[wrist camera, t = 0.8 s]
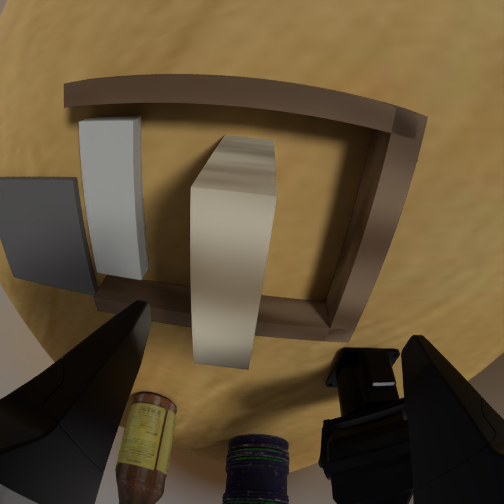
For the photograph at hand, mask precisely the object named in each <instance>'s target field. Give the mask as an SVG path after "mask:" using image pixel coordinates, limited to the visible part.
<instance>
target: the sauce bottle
mask: <svg viewBox="0 0 504 504" xmlns="http://www.w3.org/2000/svg"><path fill="white" fill-rule="evenodd" d="M176 412H177V408H176V406H175V405H174V404H173V403H172V402H171V401H170V400H168V399H167V398H165V397H163V396H160V395H157V394H153V393H140V394H137V395H136V396H135V398H134V401H133V404H132V405H131V407H130V411H129V415H128V418H127V422H126V426H125V430H124V434H123V438H122V442H121V447H120V451H119V455H118V460H117V464H116V480H117V485H118V495H119V504H155V503H156V502H157V501H158V500H159V499H160V498H161V497H162V495H163V492H164V485H165V478H166V477H167V472H168V465H169V459H170V452H171V447H172V441H173V435H174V429H175V423H176Z"/></svg>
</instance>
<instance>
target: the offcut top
mask: <svg viewBox="0 0 504 504" xmlns="http://www.w3.org/2000/svg"><path fill="white" fill-rule="evenodd" d="M140 126H141V117H103V118H87V119H84V120H82V121H79V138H80V155H81V168H82V179H83V189H84V197H85V205H86V213H87V220H88V226H89V232H90V238H91V244H92V250H93V255H94V260H95V265H96V270H97V273H102V274H108V275H114V276H119V277H125V278H131V279H137V280H142V279H143V277H144V275H145V273H146V261H145V250H144V237H143V223H142V204H141V173H140Z"/></svg>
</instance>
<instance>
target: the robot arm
mask: <svg viewBox="0 0 504 504" xmlns="http://www.w3.org/2000/svg"><path fill="white" fill-rule="evenodd" d="M150 326H151V312H150V304H149V302H148V301H144V300H139V299H137V300H135V301H134V302H132V303H131V304H130V305H128V306H127V307H126V308H124V309H123V310H122V311H120V312H119V313H118V314H117V315H115V316H114V317H113V318H111V319H110V320H109V321H107V322H106V323H105V324H104V325H102V326H101V327H100V328H98V329H97V330H96V331H94V332H93V333H92V334H91V335H89V336H88V337H87V338H85V339H84V340H83V341H82V342H80V343H79V344H78V345H77V346H75V347H74V348H73V349H71V350H70V351H69V352H68V353H66V354H65V355H64V356H63V357H62V358H63V359H62V358H60V359H59V360H57V361H56V362H55V363H54V364H52V365H51V366H50V367H49V368H47V369H46V370H45V371H43V372H42V373H40V374H39V375H38V376H36V377H34V378H33V379H32V380H30V381H28V382H27V383H25V384H24V385H22V386H21V387H19V388H18V389H16V390H14V391H13V392H11V393H10V394H8V395H7V396H5V397H3V398H2V399H0V504H95V501H96V497H97V494H98V490H99V487H100V483H101V480H102V476H103V472H104V470H105V467H106V463H107V460H108V457H109V454H110V451H111V448H112V444H113V442H114V439H115V436H116V433H117V429H118V427H119V424H120V421H121V418H122V415H123V412H124V409H125V407H126V404H127V401H128V398H129V395H130V393H131V390H132V387H133V385H134V382H135V379H136V376H137V374H138V371H139V368H140V365H141V361H142V358H143V354H144V350H145V346H146V342H147V338H148V334H149V330H150ZM399 355H400V352H399V350H398V349H357V348H345V349H343V350H342V351H341V353H340V355H339V357H338V359H337V361H336V363H335V365H334V367H333V369H332V371H331V373H330V375H329V376H328V378H327V380H326V386H327V387H338V395H339V402H340V410H341V417H339V418H335V419H331V420H329V419H327V420H324V421H323V428H322V438H321V453H320V458H319V466H320V467H321V468H323V470H324V473H325V475H326V477H327V479H328V480H331V484H332V494H333V499H334V500H335V502H336V503H337V504H409V501H410V499H411V497H412V495H413V499H414V504H504V419H503V418H502V417H501V416H500V415H499V414H498V413H497V412H496V411H495V410H494V409H492V407H491V406H490V405H489V404H488V403H487V402H486V401H485V400H484V398H483V397H481V395H480V394H479V393H478V392H477V391H476V390H475V389H474V388H473V387H472V386H471V384H470V383H469V382H468V381H467V380H466V379H465V378H464V377H463V376H462V375H461V374H460V373H459V372H458V371H457V370H456V369H455V368H454V366H453V365H452V364H451V363H450V362H449V361H448V360H447V359H446V358H445V357H444V356H443V355H442V354H441V353H440V352H439V351H438V350H437V349H436V348H435V347H434V346H433V345H432V344H431V343H430V342H429V341H428V340H427V339H426V338H425V337H424V336H422V335H413V336H411V338H410V339H409V341H408V342H407V344H406V345H405V347H404V348H403V350H402V353H401V360H402V373H403V389H404V398H401V399H399V395H398V391H397V387H396V380H395V376H394V372H393V369H392V366H393V364H394V363H395V361H396V360H397V358H398V357H399Z"/></svg>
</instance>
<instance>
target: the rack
mask: <svg viewBox="0 0 504 504" xmlns="http://www.w3.org/2000/svg"><path fill="white" fill-rule="evenodd" d="M117 103H195V104H214V105H228V106H239V107H250V108H259V109H268V110H275V111H283V112H290V113H297V114H303V115H309V116H315V117H321V118H326V119H331V120H336V121H341V122H346V123H351V124H355V125H360V126H364V127H369V128H373V131H372V136H371V140H370V145H369V149H368V154H367V158H366V162H365V167H364V171H363V175H362V179H361V183H360V187H359V191H358V195H357V198H356V202H355V206H354V210H353V213H352V217H351V221H350V224H349V228H348V231H347V235H346V238H345V241H344V245H343V248H342V251H341V255H340V258H339V261H338V265H337V268H336V271H335V274H334V277H333V280H332V283H331V286H330V289H329V292H328V295H327V298H326V301H325V302H321V301H311V300H300V299H290V298H281V297H271V296H262V295H261V299H260V305H259V311H258V317H257V323H256V329H255V335H256V336H266V337H276V338H287V339H300V340H313V341H329V342H349V340H350V338H351V336H352V334H353V332H354V330H355V328H356V326H357V323H358V321H359V319H360V317H361V315H362V313H363V310H364V308H365V306H366V303H367V301H368V299H369V297H370V294H371V292H372V289H373V287H374V285H375V282H376V280H377V277H378V275H379V272H380V270H381V267H382V265H383V262H384V260H385V257H386V254H387V252H388V249H389V246H390V244H391V241H392V238H393V235H394V233H395V230H396V227H397V224H398V221H399V218H400V215H401V212H402V209H403V206H404V203H405V200H406V197H407V193H408V190H409V187H410V184H411V180H412V177H413V173H414V170H415V166H416V163H417V159H418V155H419V151H420V147H421V143H422V139H423V135H424V131H425V127H426V122H427V118H428V117H426V116H424V115H421V114H419V113H416V112H413V111H411V110H408V109H405V108H402V107H398V106H395V105H392V104H388V103H385V102H381V101H377V100H373V99H370V98H366V97H362V96H357V95H353V94H349V93H344V92H340V91H335V90H330V89H325V88H320V87H314V86H308V85H303V84H296V83H290V82H283V81H275V80H267V79H258V78H248V77H236V76H222V75H199V74H152V75H131V76H116V77H105V78H95V79H87V80H81V81H76V82H70V83H65V84H64V108H65V107H75V106H86V105H99V104H117ZM137 299H139V300H144V301H148V302H149V304H150V312H151V321H155V322H161V323H167V324H173V325H179V326H186V327H192V313H191V287H189V286H182V285H175V284H168V283H161V282H154V281H147V280H137V279H131V278H125V277H119V276H114V275H107V276H106V278H105V280H104V281H103V283H102V284H101V286H100V288H99V289H98V291H97V292H96V294H95V296H94V300H95V304H96V307H97V310H98V311H102V312H107V313H112V314H118V313H119V312H120V311H122V310H123V309H124V308H126V307H127V306H128V305H130V304H131V303H132V302H134V301H135V300H137Z"/></svg>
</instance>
